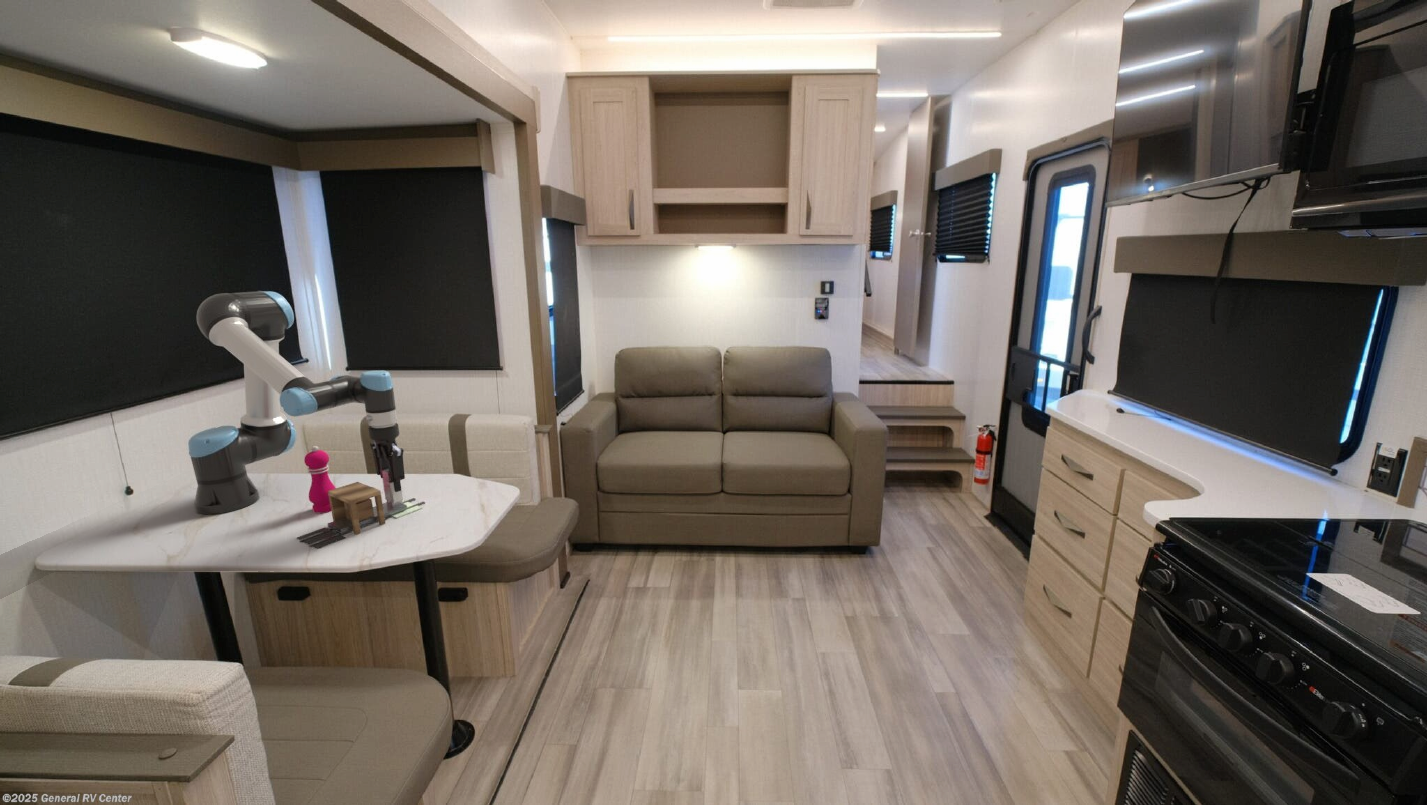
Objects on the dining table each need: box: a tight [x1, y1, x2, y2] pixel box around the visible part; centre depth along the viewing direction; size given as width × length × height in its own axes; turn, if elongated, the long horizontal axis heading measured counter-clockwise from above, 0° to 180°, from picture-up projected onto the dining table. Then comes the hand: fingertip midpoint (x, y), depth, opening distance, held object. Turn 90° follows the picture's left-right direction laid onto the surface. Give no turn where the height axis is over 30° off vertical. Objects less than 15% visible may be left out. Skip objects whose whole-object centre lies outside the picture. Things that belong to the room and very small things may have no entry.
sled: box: [327, 469, 407, 534], centre depth 163 cm, size 7×18×12 cm, turn 149°
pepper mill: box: [303, 445, 336, 514], centre depth 169 cm, size 7×7×20 cm
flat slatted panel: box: [296, 526, 347, 550], centre depth 154 cm, size 11×7×1 cm, turn 59°
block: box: [344, 498, 374, 521], centre depth 161 cm, size 5×5×5 cm
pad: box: [391, 499, 423, 519], centre depth 172 cm, size 11×8×1 cm
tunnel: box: [328, 481, 386, 536], centre depth 161 cm, size 12×8×10 cm, turn 59°
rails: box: [298, 497, 426, 548], centre depth 164 cm, size 6×32×1 cm, turn 149°
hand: (394, 499), depth 170 cm, fingers closed on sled, 3 cm apart
